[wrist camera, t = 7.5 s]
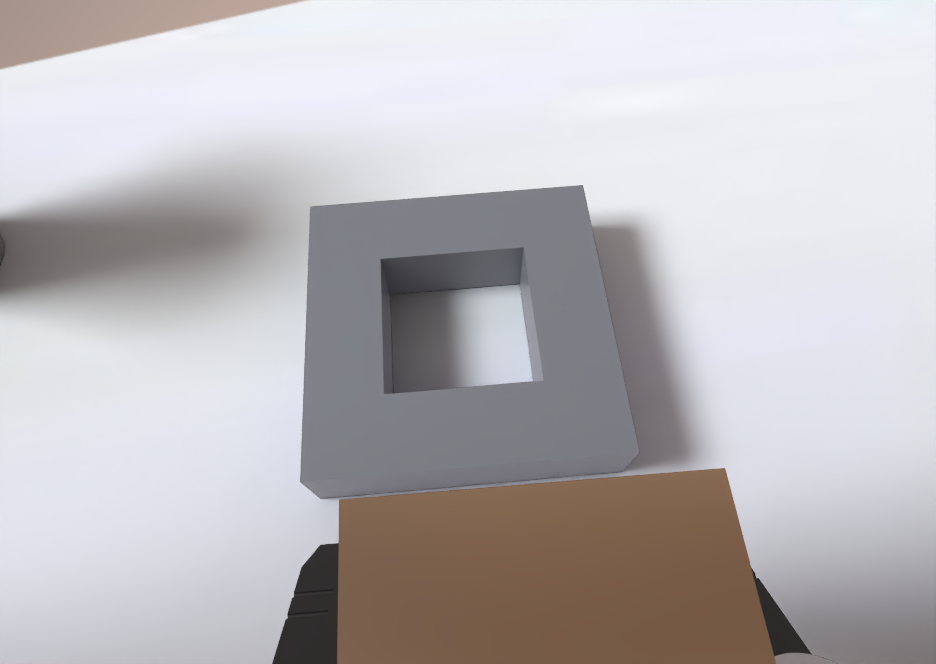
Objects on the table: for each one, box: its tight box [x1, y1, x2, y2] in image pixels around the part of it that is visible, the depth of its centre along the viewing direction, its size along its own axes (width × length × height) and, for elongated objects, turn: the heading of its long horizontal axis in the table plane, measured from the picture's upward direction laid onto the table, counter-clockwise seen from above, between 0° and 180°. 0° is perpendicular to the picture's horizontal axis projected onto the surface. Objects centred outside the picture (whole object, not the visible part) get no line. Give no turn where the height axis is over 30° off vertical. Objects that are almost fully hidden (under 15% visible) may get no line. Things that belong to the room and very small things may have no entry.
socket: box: [300, 185, 639, 499], centre depth 25 cm, size 12×12×3 cm
